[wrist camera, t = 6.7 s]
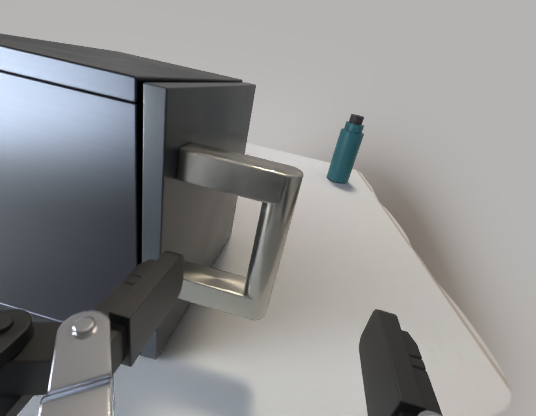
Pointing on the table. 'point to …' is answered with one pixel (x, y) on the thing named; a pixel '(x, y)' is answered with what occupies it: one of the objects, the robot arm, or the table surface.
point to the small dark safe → (72, 171)
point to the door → (209, 197)
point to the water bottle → (346, 150)
